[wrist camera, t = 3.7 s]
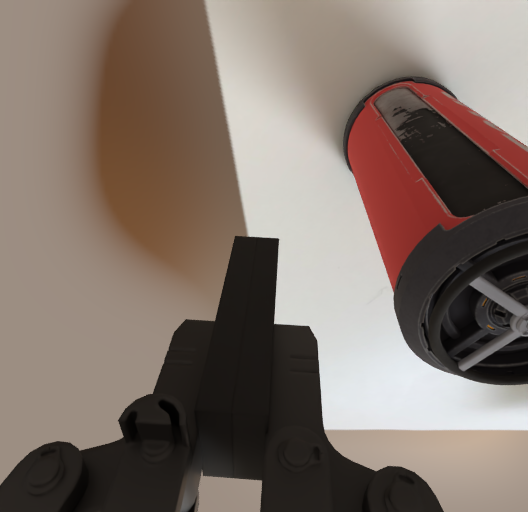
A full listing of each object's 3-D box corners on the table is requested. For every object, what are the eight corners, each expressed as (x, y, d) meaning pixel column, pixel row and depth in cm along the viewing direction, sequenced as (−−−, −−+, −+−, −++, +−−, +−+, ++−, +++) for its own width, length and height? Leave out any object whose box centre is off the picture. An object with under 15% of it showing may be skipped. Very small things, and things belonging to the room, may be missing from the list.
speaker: (320, 150, 27) (355, 342, 12) (398, 48, 23) (585, 153, 8) (399, 205, 29) (509, 424, 15) (483, 120, 25) (750, 304, 11)
